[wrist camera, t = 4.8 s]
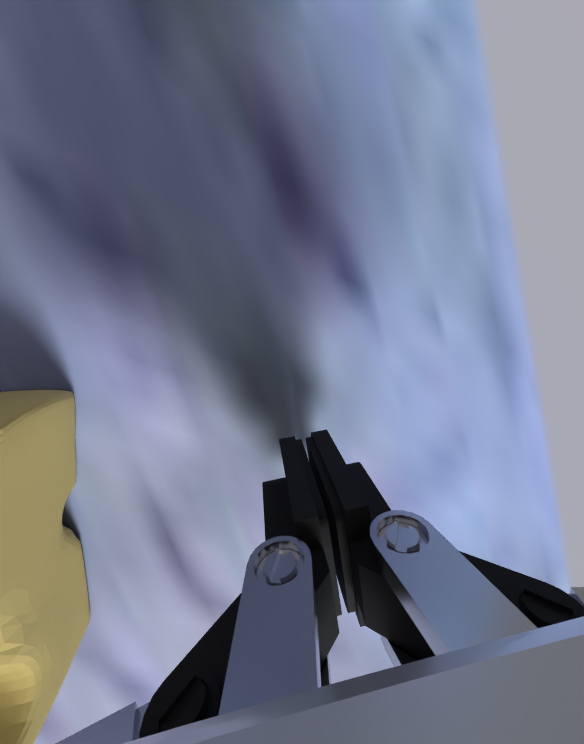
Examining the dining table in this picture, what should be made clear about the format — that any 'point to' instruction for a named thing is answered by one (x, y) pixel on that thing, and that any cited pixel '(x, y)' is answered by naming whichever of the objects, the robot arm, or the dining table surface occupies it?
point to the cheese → (37, 558)
